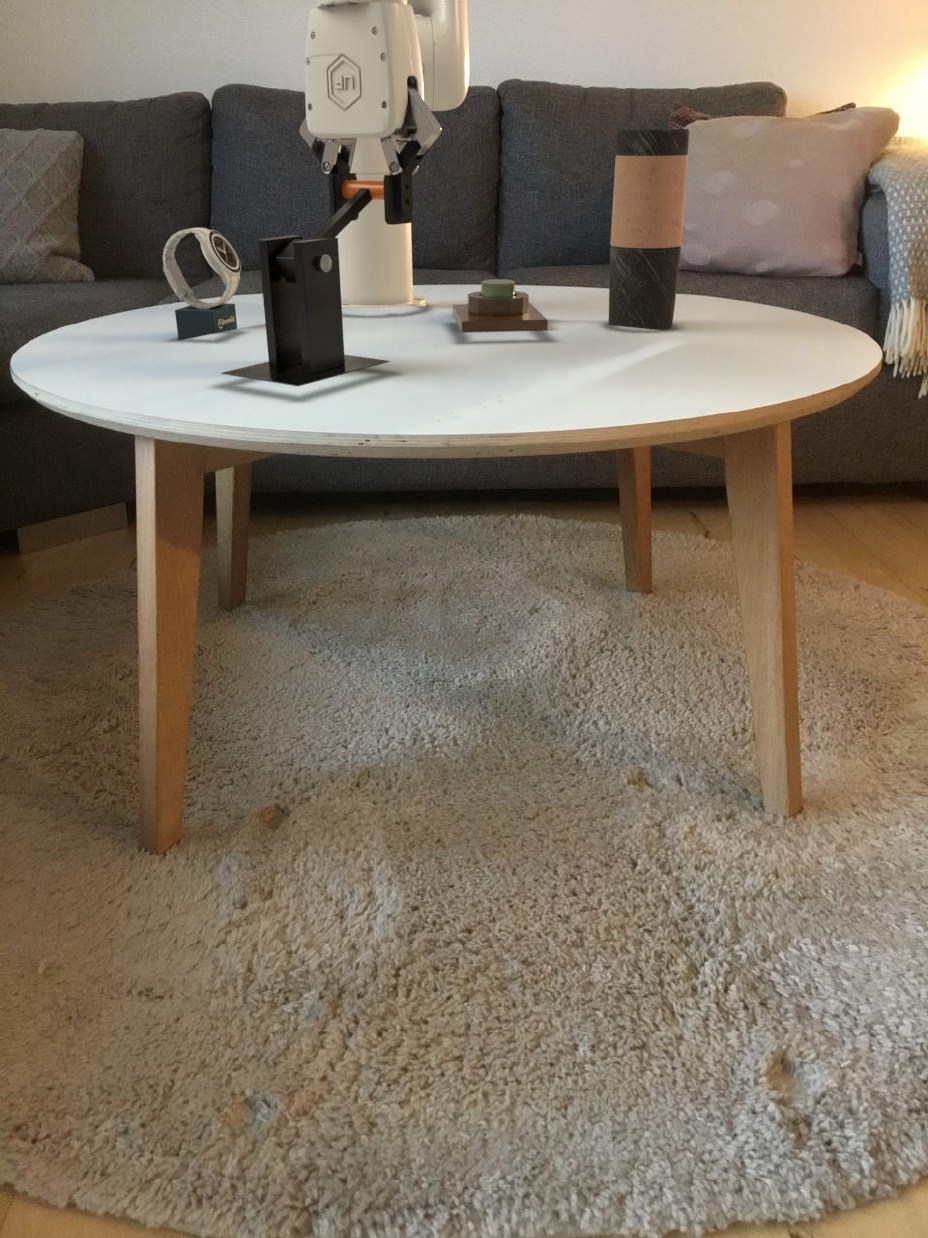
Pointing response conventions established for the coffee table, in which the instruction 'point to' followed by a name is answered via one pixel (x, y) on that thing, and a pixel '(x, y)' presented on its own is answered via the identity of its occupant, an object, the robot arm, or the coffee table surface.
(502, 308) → the button block
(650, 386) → the coffee table surface
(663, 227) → the travel mug
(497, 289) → the warm button
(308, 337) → the switch bracket
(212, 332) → the watch
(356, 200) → the switch lever
